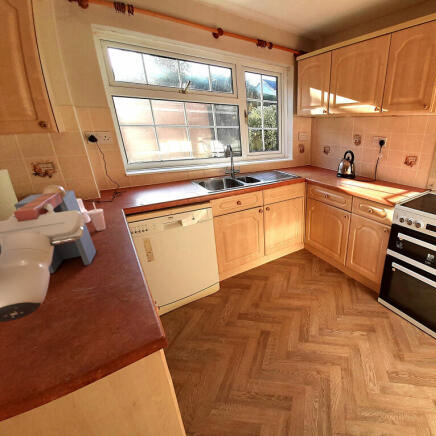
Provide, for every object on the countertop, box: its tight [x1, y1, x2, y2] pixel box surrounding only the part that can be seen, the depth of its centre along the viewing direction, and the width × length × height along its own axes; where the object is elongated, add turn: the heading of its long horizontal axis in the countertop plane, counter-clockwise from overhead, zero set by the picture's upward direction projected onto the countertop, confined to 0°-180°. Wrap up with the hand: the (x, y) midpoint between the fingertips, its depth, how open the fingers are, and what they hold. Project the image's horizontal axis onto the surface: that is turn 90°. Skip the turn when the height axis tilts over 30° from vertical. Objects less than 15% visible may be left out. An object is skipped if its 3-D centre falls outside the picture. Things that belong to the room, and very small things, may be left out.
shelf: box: [13, 190, 97, 274], centre depth 88 cm, size 12×12×26 cm
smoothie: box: [87, 201, 107, 232], centre depth 119 cm, size 6×6×14 cm
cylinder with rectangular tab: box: [76, 198, 92, 224], centre depth 129 cm, size 9×9×12 cm
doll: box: [13, 184, 66, 222], centre depth 68 cm, size 23×5×5 cm, turn 27°
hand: (36, 207), depth 64 cm, fingers closed on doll, 3 cm apart
